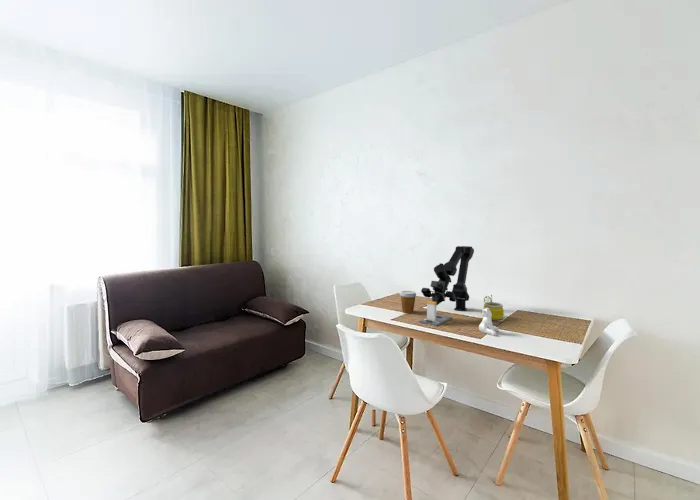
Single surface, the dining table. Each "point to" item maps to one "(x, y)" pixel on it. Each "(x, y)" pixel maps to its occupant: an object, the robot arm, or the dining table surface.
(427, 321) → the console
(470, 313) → the dining table surface
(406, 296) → the disposable coffee cup
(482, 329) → the seated beast figurine
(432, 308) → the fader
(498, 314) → the yellow round tub
